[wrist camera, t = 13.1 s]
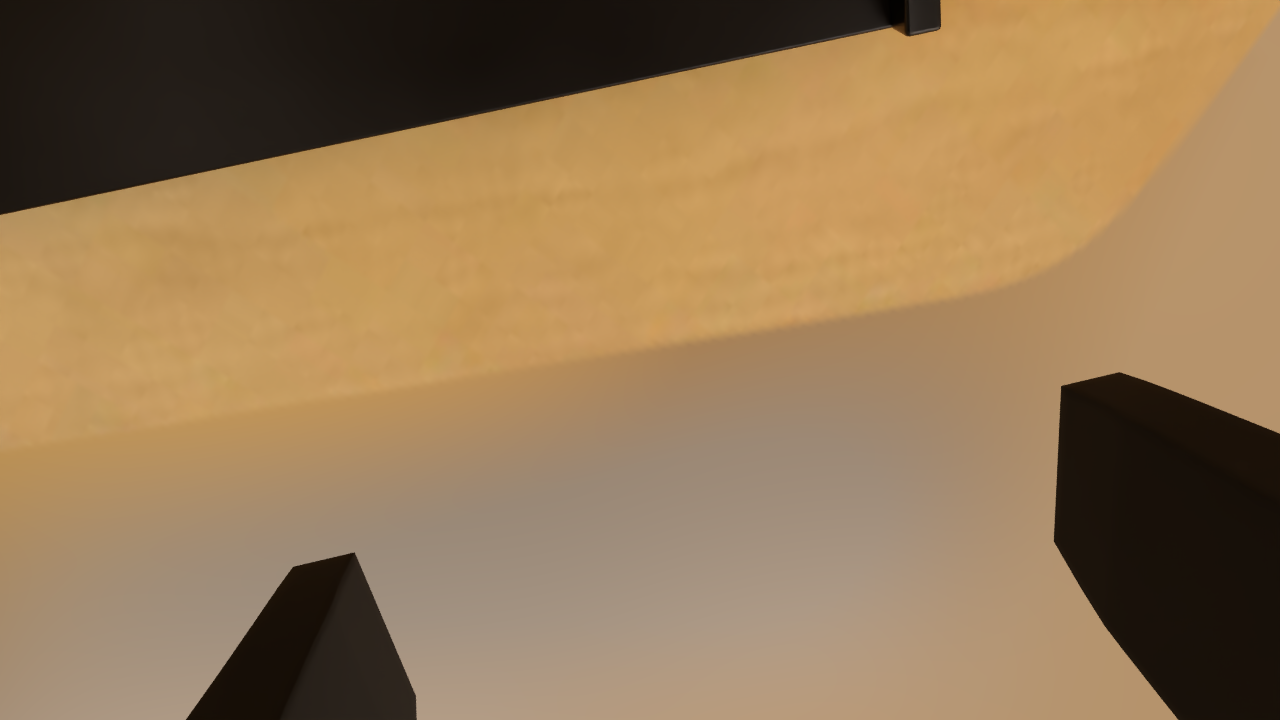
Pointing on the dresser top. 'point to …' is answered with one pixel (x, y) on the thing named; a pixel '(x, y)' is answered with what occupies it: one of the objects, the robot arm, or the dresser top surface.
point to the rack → (339, 71)
